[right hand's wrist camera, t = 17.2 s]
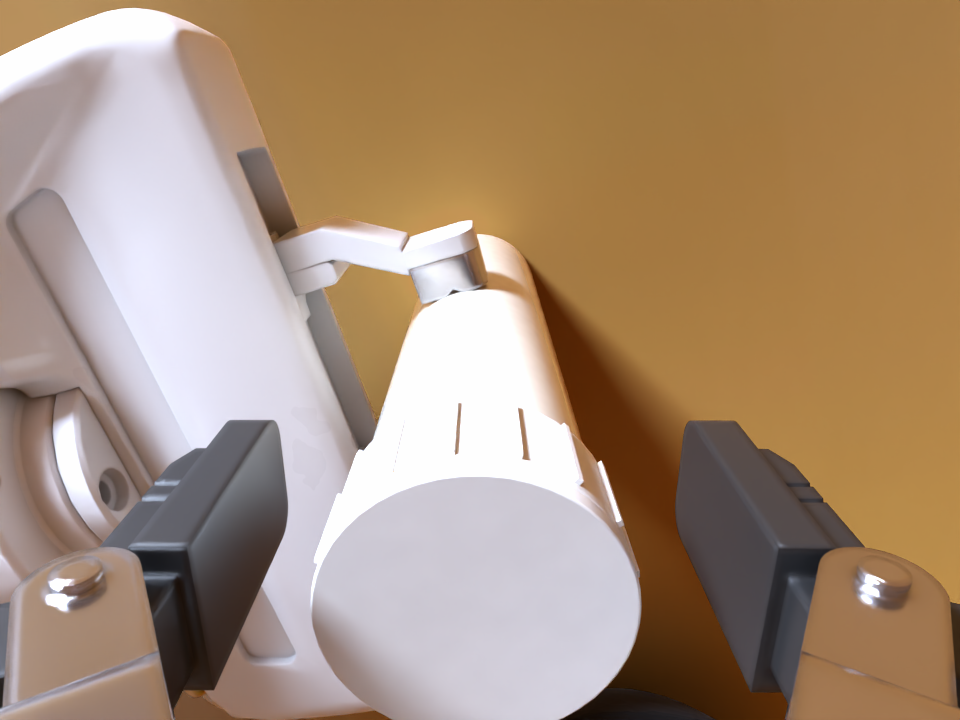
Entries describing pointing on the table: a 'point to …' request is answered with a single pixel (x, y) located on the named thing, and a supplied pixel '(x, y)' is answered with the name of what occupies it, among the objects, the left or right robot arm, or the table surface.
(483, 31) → the table surface
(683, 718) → the oil lamp
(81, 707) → the right robot arm
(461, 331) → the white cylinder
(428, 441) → the lid
